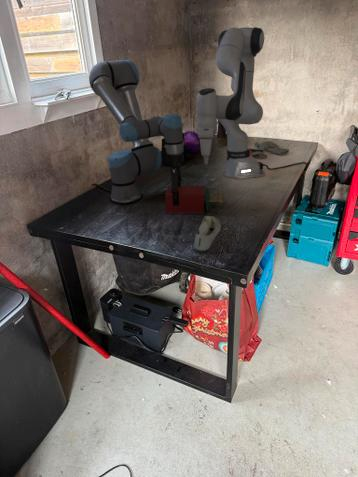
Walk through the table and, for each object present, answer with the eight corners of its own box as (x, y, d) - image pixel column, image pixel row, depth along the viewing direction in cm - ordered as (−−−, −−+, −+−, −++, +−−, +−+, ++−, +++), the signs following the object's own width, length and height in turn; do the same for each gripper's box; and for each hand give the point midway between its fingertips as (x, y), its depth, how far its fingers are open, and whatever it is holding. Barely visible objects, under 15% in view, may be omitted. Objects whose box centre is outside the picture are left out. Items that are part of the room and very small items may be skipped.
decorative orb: (204, 151, 235) (204, 129, 228) (194, 156, 225) (193, 134, 217) (186, 149, 243) (186, 128, 235) (175, 154, 232) (174, 132, 224)
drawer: (221, 201, 156) (222, 187, 152) (222, 210, 147) (222, 196, 144) (176, 202, 158) (175, 188, 155) (173, 211, 150) (173, 196, 146)
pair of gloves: (253, 161, 209) (253, 153, 207) (231, 152, 230) (232, 144, 227) (291, 153, 219) (292, 145, 216) (267, 145, 240) (268, 138, 237)
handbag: (171, 167, 207) (169, 126, 195) (160, 165, 212) (156, 125, 199) (188, 158, 222) (187, 119, 209) (177, 157, 226) (175, 119, 214)
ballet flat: (224, 223, 138) (224, 206, 134) (211, 254, 118) (211, 235, 114) (205, 222, 140) (204, 205, 136) (189, 252, 120) (188, 233, 116)
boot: (229, 139, 260) (230, 113, 250) (227, 147, 240) (228, 119, 230) (218, 139, 262) (218, 113, 252) (215, 147, 242) (215, 119, 232)
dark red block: (204, 203, 158) (204, 185, 153) (204, 213, 148) (203, 195, 144) (169, 203, 159) (168, 186, 155) (166, 213, 150) (165, 195, 145)
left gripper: (169, 146, 152) (172, 190, 163) (162, 161, 131) (166, 210, 142) (185, 145, 151) (187, 190, 162) (181, 160, 131) (183, 210, 141)
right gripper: (201, 125, 153) (201, 154, 159) (197, 134, 135) (198, 167, 142) (214, 125, 152) (214, 154, 159) (213, 134, 134) (213, 167, 141)
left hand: (177, 199), depth 152 cm, fingers closed on dark red block, 11 cm apart
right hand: (206, 161), depth 150 cm, fingers open, 8 cm apart
